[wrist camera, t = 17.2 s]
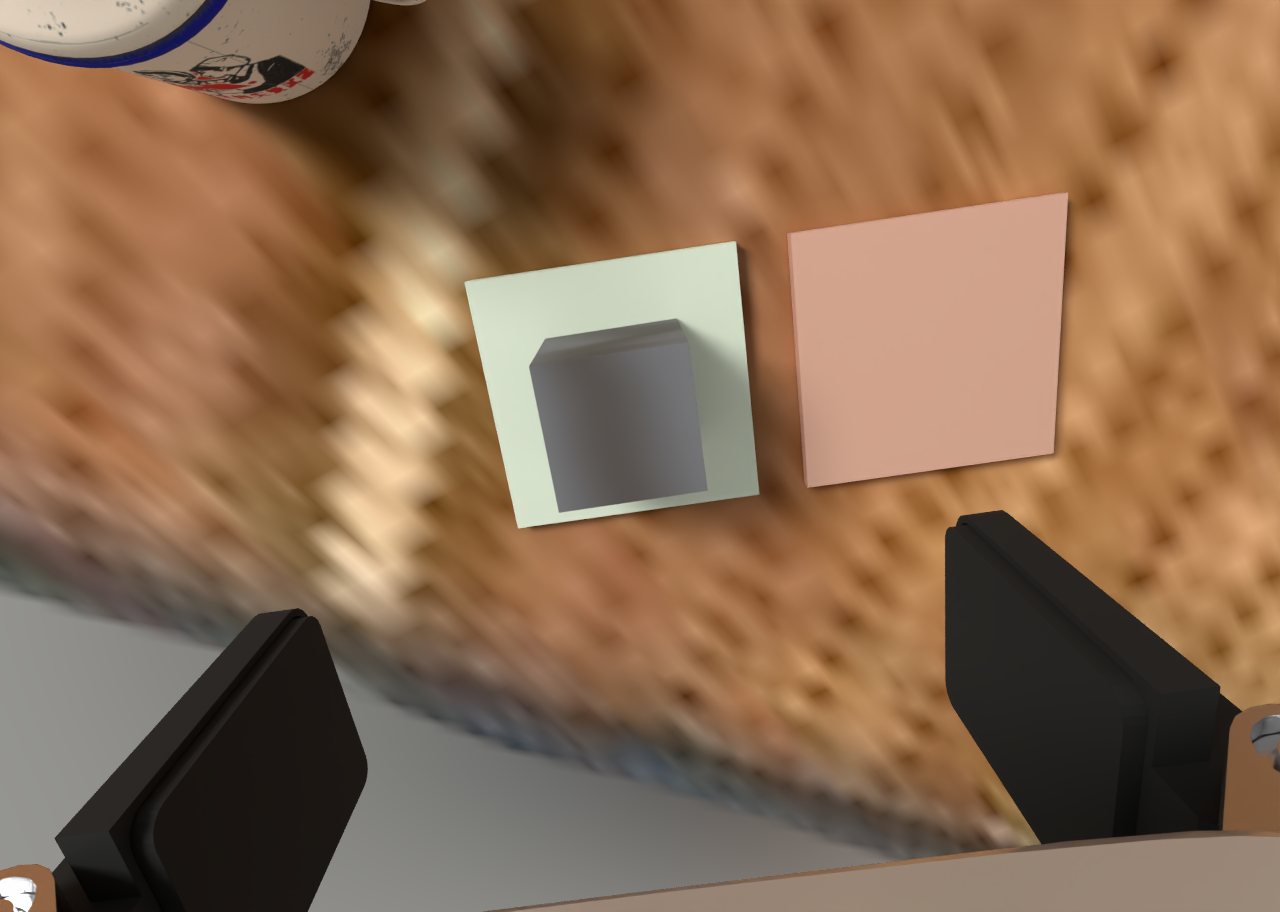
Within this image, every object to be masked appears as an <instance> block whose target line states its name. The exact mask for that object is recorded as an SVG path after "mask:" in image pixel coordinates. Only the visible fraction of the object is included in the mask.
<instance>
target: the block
mask: <svg viewBox="0 0 1280 912" xmlns="http://www.w3.org/2000/svg"><path fill="white" fill-rule="evenodd" d="M529 370H530V375H531V379H532V384H533V389H534V394H535V399H536V404H537V409H538V413H539V418H540V423H541V428H542V433H543V438H544V443H545V448H546V452H547V457H548V462H549V467H550V472H551V477H552V482H553V486H554V491H555V496H556V501H557V506H558V511H559V513H562V512H568V511H575V510H582V509H588V508H595V507H602V506H609V505H615V504H622V503H629V502H635V501H642V500H649V499H656V498H662V497H669V496H676V495H683V494H689V493H696V492H703V491H708V489H707V481H706V473H705V465H704V458H703V450H702V442H701V434H700V426H699V418H698V411H697V403H696V395H695V387H694V379H693V372H692V364H691V356H690V348H689V342H688V340H687V338H686V336H685V334H684V332H683V330H682V328H681V326H680V324H679V322H678V320H677V318H675V319H669V320H662V321H656V322H649V323H643V324H637V325H630V326H624V327H617V328H611V329H604V330H598V331H591V332H585V333H579V334H572V335H566V336H559V337H553V338H546V339H545V340H544V342H543V343H542V345H541V347H540V348H539V350H538V352H537V354H536V355H535V357H534V359H533V360H532V362H531V364H530V366H529Z"/></svg>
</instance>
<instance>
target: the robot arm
mask: <svg viewBox="0 0 1280 912" xmlns="http://www.w3.org/2000/svg"><path fill="white" fill-rule="evenodd" d="M945 668H946V688H947V693H948V696H949V699H950V702H951V704H952V706H953V708H954V710H955V711H956V713H957V714H958V716H959V717H960V719H961V720H962V722H963V723H964V725H965V727H966V728H967V730H968V731H969V733H970V734H971V736H972V737H973V739H974V740H975V742H976V744H977V745H978V747H979V748H980V750H981V751H982V753H983V754H984V756H985V757H986V759H987V760H988V762H989V764H990V765H991V767H992V768H993V770H994V771H995V773H996V774H997V776H998V777H999V779H1000V781H1001V782H1002V784H1003V785H1004V787H1005V788H1006V790H1007V791H1008V793H1009V794H1010V796H1011V798H1012V799H1013V801H1014V802H1015V804H1016V805H1017V807H1018V808H1019V810H1020V811H1021V813H1022V815H1023V816H1024V818H1025V819H1026V821H1027V822H1028V824H1029V825H1030V827H1031V828H1032V830H1033V832H1034V833H1035V835H1036V836H1037V838H1038V839H1039V841H1040V842H1041V845H1032V846H1024V847H1015V848H1006V849H997V850H988V851H980V852H971V853H962V854H953V855H945V856H937V857H928V858H920V859H911V860H903V861H894V862H886V863H878V864H869V865H860V866H852V867H844V868H835V869H827V870H818V871H809V872H801V873H793V874H784V875H775V876H767V877H758V878H750V879H741V880H733V881H725V882H717V883H708V884H701V885H692V886H684V887H676V888H668V889H660V890H652V891H643V892H635V893H627V894H619V895H612V896H603V897H595V898H587V899H579V900H571V901H563V902H555V903H547V904H539V905H532V906H523V907H515V908H507V909H499V910H491V911H483V912H1280V704H1266V705H1261V706H1256V707H1251V708H1248V709H1246V710H1245V711H1243V712H1242V711H1241V710H1240V709H1239V708H1237V707H1236V706H1235V705H1234V704H1233V703H1231V702H1230V701H1229V700H1228V699H1226V698H1225V697H1224V696H1223V695H1222V694H1220V687H1221V686H1219V685H1218V684H1217V683H1216V682H1214V681H1213V680H1212V679H1211V678H1209V677H1208V676H1207V675H1206V674H1205V673H1203V672H1202V671H1201V670H1200V669H1198V668H1197V667H1196V666H1195V665H1193V664H1192V663H1191V662H1190V661H1189V660H1187V659H1186V658H1185V657H1184V656H1182V655H1181V654H1180V653H1179V652H1177V651H1176V650H1175V649H1174V648H1173V647H1171V646H1170V645H1169V644H1168V643H1166V642H1165V641H1164V640H1163V639H1162V638H1160V637H1159V636H1158V635H1157V634H1155V633H1154V632H1153V631H1152V630H1150V629H1149V628H1148V627H1147V626H1146V625H1144V624H1143V623H1142V622H1141V621H1139V620H1138V619H1137V618H1136V617H1134V616H1133V615H1132V614H1131V613H1130V612H1128V611H1127V610H1126V609H1125V608H1123V607H1122V606H1121V605H1120V604H1118V603H1117V602H1116V601H1115V600H1114V599H1112V598H1111V597H1110V596H1109V595H1107V594H1106V593H1105V592H1104V591H1102V590H1101V589H1100V588H1099V587H1098V586H1096V585H1095V584H1094V583H1093V582H1091V581H1090V580H1089V579H1088V578H1087V577H1085V576H1084V575H1083V574H1082V573H1080V572H1079V571H1078V570H1077V569H1075V568H1074V567H1073V566H1072V565H1071V564H1069V563H1068V562H1067V561H1066V560H1064V559H1063V558H1062V557H1061V556H1059V555H1058V554H1057V553H1056V552H1055V551H1053V550H1052V549H1051V548H1050V547H1048V546H1047V545H1046V544H1045V543H1043V542H1042V541H1041V540H1040V539H1039V538H1037V537H1036V536H1035V535H1034V534H1032V533H1031V532H1030V531H1029V530H1027V529H1026V528H1025V527H1024V526H1023V525H1021V524H1020V523H1019V522H1018V521H1016V520H1015V519H1014V518H1013V517H1012V516H1010V515H1009V514H1008V513H1006V512H1005V511H1003V510H999V511H992V512H985V513H977V514H970V515H963V516H960V517H959V519H958V521H957V524H956V527H949V528H948V529H947V531H946V535H945ZM367 771H368V768H367V759H366V755H365V752H364V749H363V747H362V744H361V741H360V738H359V735H358V732H357V729H356V727H355V724H354V721H353V718H352V715H351V712H350V709H349V707H348V703H347V701H346V698H345V695H344V692H343V689H342V686H341V683H340V680H339V677H338V675H337V672H336V669H335V666H334V663H333V660H332V657H331V654H330V652H329V649H328V646H327V643H326V640H325V637H324V634H323V631H322V629H321V626H320V624H319V622H318V620H317V619H316V618H315V617H313V616H309V617H308V616H307V614H306V613H305V612H304V611H303V610H301V609H299V608H297V609H290V610H283V611H276V612H269V613H262V614H258V615H257V616H255V617H254V618H253V619H252V620H251V621H250V622H249V623H248V625H247V626H246V627H245V628H244V629H243V630H242V631H241V632H240V633H239V635H238V636H237V637H236V638H235V639H234V640H233V641H232V642H231V643H230V645H229V646H228V647H227V648H226V649H225V650H224V651H223V652H222V653H221V654H220V656H219V657H218V658H217V659H216V660H215V661H214V662H213V663H212V664H211V666H210V667H209V668H208V669H207V670H206V671H205V672H204V673H203V674H202V676H201V677H200V678H199V679H198V680H197V681H196V682H195V683H194V684H193V685H192V687H191V688H190V689H189V690H188V691H187V692H186V693H185V694H184V695H183V697H182V698H181V699H180V700H179V701H178V702H177V703H176V704H175V705H174V707H173V708H172V709H171V710H170V711H169V712H168V713H167V714H166V715H165V717H164V718H163V719H162V720H161V721H160V722H159V723H158V724H157V725H156V727H155V728H154V729H153V730H152V731H151V732H150V733H149V734H148V735H147V736H146V738H145V739H144V740H143V741H142V742H141V743H140V744H139V745H138V746H137V748H136V749H135V750H134V751H133V752H132V753H131V754H130V755H129V756H128V758H127V759H126V760H125V761H124V762H123V763H122V764H121V765H120V766H119V768H118V769H117V770H116V771H115V772H114V773H113V774H112V775H111V776H110V777H109V779H108V780H107V781H106V782H105V783H104V784H103V785H102V786H101V787H100V788H99V790H98V791H97V792H96V793H95V794H94V795H93V796H92V797H91V799H90V800H89V801H88V802H87V803H86V804H85V805H84V806H83V808H82V809H81V810H80V811H79V812H78V813H77V814H76V815H75V816H74V817H73V818H72V819H71V821H70V822H69V823H68V824H67V825H66V826H65V827H64V828H63V829H62V831H61V832H60V833H59V834H58V835H57V836H56V837H55V840H56V842H57V843H58V845H59V847H60V849H61V851H62V852H63V854H64V856H65V859H64V860H63V861H62V862H61V863H60V864H59V865H58V867H57V868H56V869H55V870H54V871H53V872H51V871H50V869H48V868H46V867H43V866H41V865H38V864H32V865H19V866H15V867H11V868H8V869H4V870H1V871H0V912H308V910H309V907H310V905H311V903H312V901H313V899H314V897H315V894H316V892H317V890H318V887H319V885H320V883H321V881H322V879H323V877H324V874H325V872H326V870H327V868H328V865H329V863H330V861H331V859H332V857H333V854H334V852H335V850H336V848H337V846H338V843H339V841H340V839H341V837H342V834H343V832H344V830H345V828H346V826H347V823H348V821H349V819H350V817H351V814H352V812H353V810H354V808H355V806H356V804H357V801H358V799H359V797H360V795H361V792H362V790H363V788H364V786H365V783H366V779H367Z"/></svg>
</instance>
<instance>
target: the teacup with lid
mask: <svg viewBox="0 0 1280 912" xmlns="http://www.w3.org/2000/svg"><path fill="white" fill-rule="evenodd" d="M375 1H379V2H384V3H389V4H395V5H416V4H420V3H423V2H425V1H426V0H375ZM369 5H370V0H0V44H2V45H4V46H6V47H8V48H10V49H13V50H15V51H18V52H20V53H23V54H25V55H28V56H31V57H34V58H38V59H41V60H44V61H48V62H52V63H57V64H62V65H67V66H75V67H85V68H114V69H118V70H121V71H125V72H129V73H132V74H136V75H140V76H143V77H147V78H150V79H154V80H158V81H161V82H165V83H168V84H172V85H176V86H179V87H183V88H187V89H190V90H194V91H197V92H201V93H205V94H208V95H212V96H215V97H219V98H223V99H226V100H231V101H236V102H242V103H252V104H262V103H275V102H282V101H286V100H290V99H293V98H296V97H299V96H302V95H304V94H306V93H308V92H310V91H312V90H314V89H315V88H317V87H318V86H320V85H321V84H323V83H324V82H326V81H327V80H328V79H329V78H330V77H331V76H333V75H334V74H335V73H336V72H337V71H338V69H339V68H340V67H341V66H342V65H343V64H344V62H345V61H346V60H347V58H348V57H349V56H350V54H351V52H352V51H353V49H354V47H355V46H356V44H357V42H358V39H359V37H360V35H361V33H362V30H363V27H364V24H365V21H366V18H367V14H368V10H369Z"/></svg>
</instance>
